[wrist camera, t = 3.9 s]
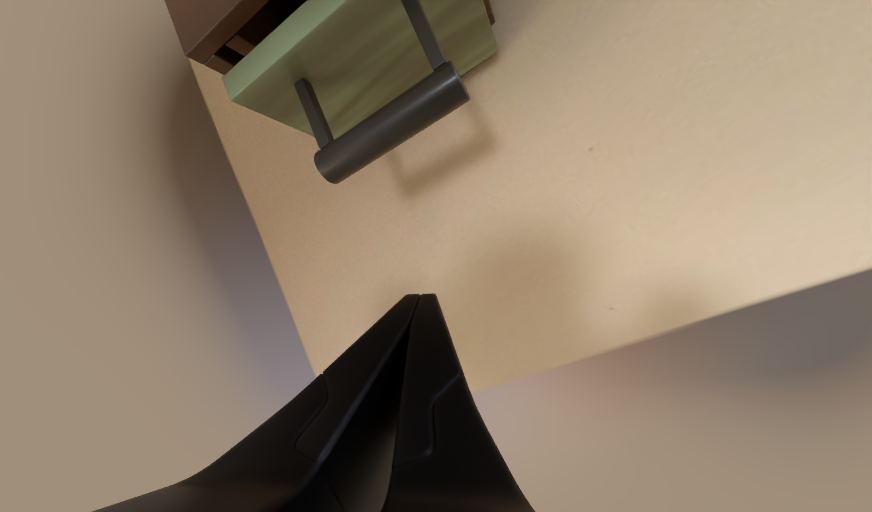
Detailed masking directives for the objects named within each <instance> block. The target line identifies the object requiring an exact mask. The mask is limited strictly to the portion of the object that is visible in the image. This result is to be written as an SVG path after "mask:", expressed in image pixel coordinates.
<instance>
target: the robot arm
mask: <svg viewBox="0 0 872 512" xmlns="http://www.w3.org/2000/svg"><path fill="white" fill-rule="evenodd" d="M93 512H535V511H534V509H533V508H532V507H531V505H530V504H529V502H528V501H527V499H526V498H525V496H524V495H523V493H522V491H521V490H520V488H519V486H518V485H517V483H516V481H515V480H514V478H513V476H512V474H511V472H510V471H509V468H508V467H507V465H506V463H505V461H504V459H503V457H502V455H501V454H500V452H499V450H498V448H497V446H496V445H495V442H494V440H493V439H492V437H491V435H490V433H489V431H488V429H487V427H486V426H485V424H484V421H483V419H482V417H481V415H480V413H479V411H478V409H477V407H476V405H475V402H474V400H473V398H472V395H471V392H470V390H469V387H468V384H467V381H466V378H465V376H464V373H463V370H462V367H461V365H460V362H459V359H458V356H457V353H456V350H455V347H454V345H453V342H452V339H451V336H450V333H449V330H448V327H447V325H446V322H445V319H444V316H443V313H442V310H441V307H440V305H439V302H438V299H437V296H436V294H422V295H420V294H407V295H405V296H404V297H403V298H402V299H401V300H400V301H399V302H398V303H397V304H395V305H394V306H393V307H392V308H391V309H390V310H389V311H388V312H387V313H386V314H385V315H384V316H383V317H381V318H380V319H379V320H378V321H377V322H376V323H375V324H374V325H373V326H372V327H371V328H370V329H369V330H367V331H366V332H365V333H364V334H363V335H362V336H361V337H360V338H359V339H358V340H357V341H356V342H355V343H353V344H352V345H351V346H350V347H349V348H348V349H347V350H346V351H345V352H344V353H343V354H342V355H341V356H340V357H338V358H337V359H336V360H335V361H334V362H333V363H332V364H331V365H330V366H329V367H328V368H327V369H326V370H324V371H323V374H320V375H319V376H318V377H317V378H316V379H315V380H314V381H313V382H311V384H309V385H308V386H307V387H306V388H305V389H304V390H302V391H301V392H300V393H299V394H298V395H297V396H296V397H295V398H293V400H291V401H290V402H289V403H288V404H286V405H285V406H284V407H283V408H281V409H280V410H279V411H278V412H277V413H275V414H274V415H273V416H272V417H270V418H269V419H268V420H267V421H265V422H264V423H263V424H262V425H260V426H259V427H258V428H257V429H255V430H254V431H253V432H252V433H250V434H249V435H248V436H247V437H245V438H244V439H243V440H242V441H240V442H239V443H238V444H237V445H235V446H234V447H233V448H231V449H230V450H229V451H228V452H226V453H225V454H224V455H222V456H221V457H220V458H219V459H217V460H216V461H215V462H213V463H212V464H211V465H209V466H208V467H206V468H205V469H203V470H202V471H200V472H198V473H197V474H195V475H193V476H191V477H189V478H187V479H185V480H183V481H181V482H178V483H176V484H174V485H171V486H168V487H165V488H162V489H159V490H156V491H153V492H150V493H147V494H144V495H141V496H138V497H135V498H132V499H129V500H126V501H123V502H120V503H117V504H114V505H111V506H108V507H105V508H102V509H99V510H96V511H93Z"/></svg>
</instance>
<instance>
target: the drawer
mask: <svg viewBox="0 0 872 512" xmlns="http://www.w3.org/2000/svg"><path fill="white" fill-rule="evenodd" d="M225 44H226V45H227V46H228V47H230V48H231V49H233V50H235V51H236V52H238V53H240V54H242V55H243V56H245V57H244V58H243V59H242V60H241V61H240V62H239V63H237V64H236V65H235V66H234V67H233V68H232V69H231V70H230V71H229V72H228V73H226V74H225V75H224V76H223V77H222V80H223V83H224V85H225V88H226V91H227V93H228V96H229V99H230V100H231V101H233V102H235V103H237V104H240V105H242V106H244V107H247V108H249V109H251V110H254V111H256V112H258V113H261V114H263V115H265V116H267V117H270V118H272V119H274V120H277V121H279V122H281V123H284V124H286V125H288V126H291V127H293V128H295V129H298V130H300V131H302V132H305V133H307V134H309V135H312V136H314V137H315V138H316V141H317V143H318V146H319V148H320V149H321V150H319V151H318V152H316V153H315V155H314V162H315V165H316V167H317V169H318V171H319V172H320V173H321V175H322V176H323V177H324V178H325V179H326V180H327V181H329V182H330V183H333V184H338V183H340V182H341V181H343V180H344V179H346V178H348V177H349V176H351V175H352V174H354V173H355V172H357V171H359V170H360V169H362V168H363V167H365V166H367V165H368V164H370V163H371V162H373V161H374V160H376V159H378V158H379V157H381V156H382V155H384V154H386V153H387V152H389V151H390V150H392V149H394V148H395V147H397V146H398V145H400V144H401V143H403V142H405V141H406V140H408V139H409V138H411V137H413V136H414V135H416V134H417V133H419V132H420V131H422V130H424V129H425V128H427V127H428V126H430V125H432V124H433V123H435V122H436V121H438V120H439V119H441V118H443V117H444V116H446V115H447V114H449V113H451V112H452V111H454V110H455V109H457V108H458V107H460V106H462V105H463V104H465V103H466V102H468V101H469V100H470V96H469V93H468V91H467V89H466V87H465V85H464V83H463V81H462V79H461V77H460V76H461V75H463V74H464V73H466V72H467V71H469V70H470V69H472V68H473V67H475V66H476V65H478V64H479V63H481V62H482V61H484V60H485V59H487V58H488V57H490V56H491V55H493V54H494V53H496V52H497V51H498V48H497V44H496V41H495V38H494V35H493V31H492V28H491V25H490V22H489V18H488V15H487V12H486V9H485V5H484V2H483V0H269V1H268V2H267V3H266V4H265V5H264V6H263V7H262V8H261V9H260V10H259V11H258V12H257V13H256V14H255V15H254V16H253V17H252V18H251V19H250V20H249V21H247V22H246V23H245V24H244V25H243V26H242V27H241V28H240V29H239V30H238V31H237V32H236V33H235V34H234V35H233V36H232V37H231V38H230V39H229V40H228V41H227V42H226V43H225Z"/></svg>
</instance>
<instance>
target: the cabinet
mask: <svg viewBox="0 0 872 512" xmlns="http://www.w3.org/2000/svg"><path fill="white" fill-rule="evenodd" d="M268 1H269V0H165V3H166V6H167V8H168V11H169V14H170V16H171V19H172V22H173V24H174V27H175V30H176V33H177V35H178V38H179V41H180V43H181V46H182V49H183V51H184V54H185V56H187V57H189V58H191V59H193V60H195V61H197V62H199V63H201V64H204V65H205V66H207V67H209V68H211V69H213V70H215V71H217V72H219V73H221V74H223V75H225V74H226V73H228V72H229V71H230V70H231V69H232V68H233V67H234V66H235V65H236V64H237V63H239V62H240V61H241V60H242V59H243V58H244V57H245V56H243V55H242V54H240V53H238V52H236V51H235V50H233V49H231V48H230V47H228V46H227V45H226V44H225V43H226V42H227V41H228V40H229V39H230V38H231V37H232V36H233V35H234V34H235V33H236V32H237V31H238V30H239V29H240V28H241V27H242V26H243V25H244V24H245V23H246V22H247V21H249V20H250V19H251V18H252V17H253V16H254V15H255V14H256V13H257V12H258V11H259V10H260V9H261V8H262V7H263V6H264V5H265V4H266V3H267V2H268ZM483 2H484V5H485V9H486V12H487V15H488V18H489V22H490V25H491V24H493V23H494V22H495V20H494V16H493V13H492V9H491V6H490V2H489V0H483Z"/></svg>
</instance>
